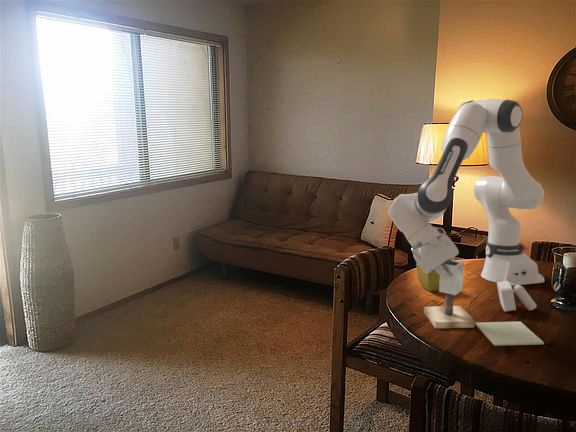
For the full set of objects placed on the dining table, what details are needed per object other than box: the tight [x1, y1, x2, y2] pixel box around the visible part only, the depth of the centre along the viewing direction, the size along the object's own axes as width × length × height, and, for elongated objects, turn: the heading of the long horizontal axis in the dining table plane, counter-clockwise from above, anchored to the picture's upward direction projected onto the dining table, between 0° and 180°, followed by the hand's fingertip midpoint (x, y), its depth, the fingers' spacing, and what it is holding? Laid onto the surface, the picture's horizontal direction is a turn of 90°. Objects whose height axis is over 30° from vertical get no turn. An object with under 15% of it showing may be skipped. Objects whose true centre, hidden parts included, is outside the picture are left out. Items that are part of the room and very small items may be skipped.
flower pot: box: [415, 263, 440, 292], centre depth 186 cm, size 9×9×9 cm
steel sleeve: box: [438, 260, 465, 296], centre depth 158 cm, size 5×5×9 cm
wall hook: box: [496, 281, 537, 313], centre depth 167 cm, size 8×10×10 cm
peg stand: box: [423, 293, 476, 329], centre depth 160 cm, size 12×12×9 cm
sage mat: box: [475, 321, 545, 347], centre depth 150 cm, size 14×14×1 cm
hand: (453, 275), depth 157 cm, fingers closed on steel sleeve, 5 cm apart
